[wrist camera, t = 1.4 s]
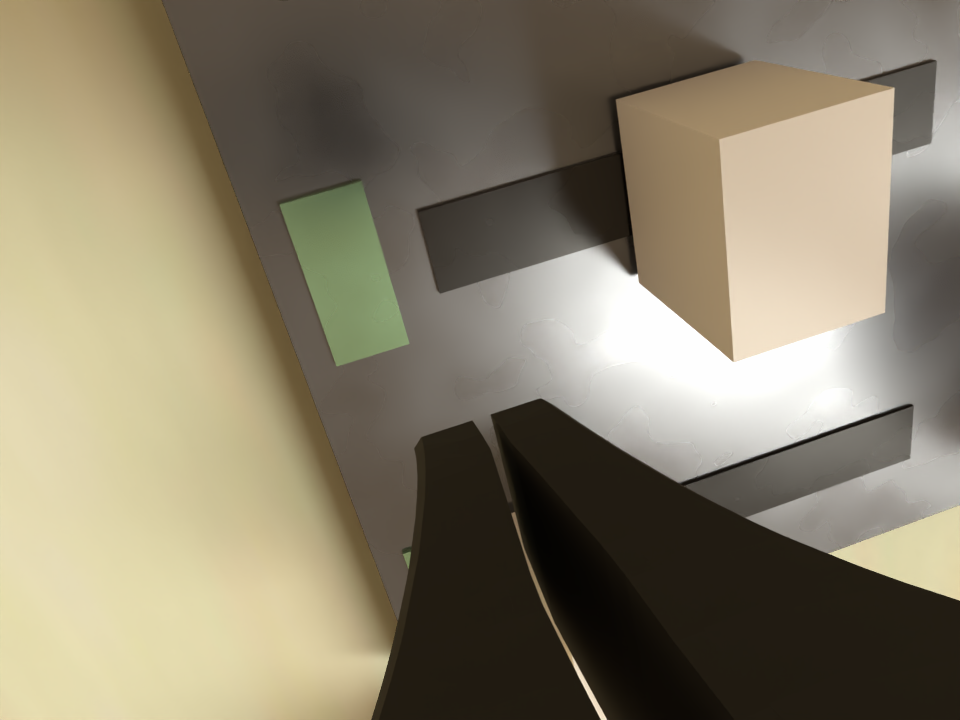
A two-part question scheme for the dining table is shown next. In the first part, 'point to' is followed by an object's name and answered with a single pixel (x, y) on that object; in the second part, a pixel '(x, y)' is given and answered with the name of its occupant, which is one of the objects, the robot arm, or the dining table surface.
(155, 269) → the dining table surface
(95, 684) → the dining table surface
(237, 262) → the dining table surface
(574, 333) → the breaker panel
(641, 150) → the breaker
